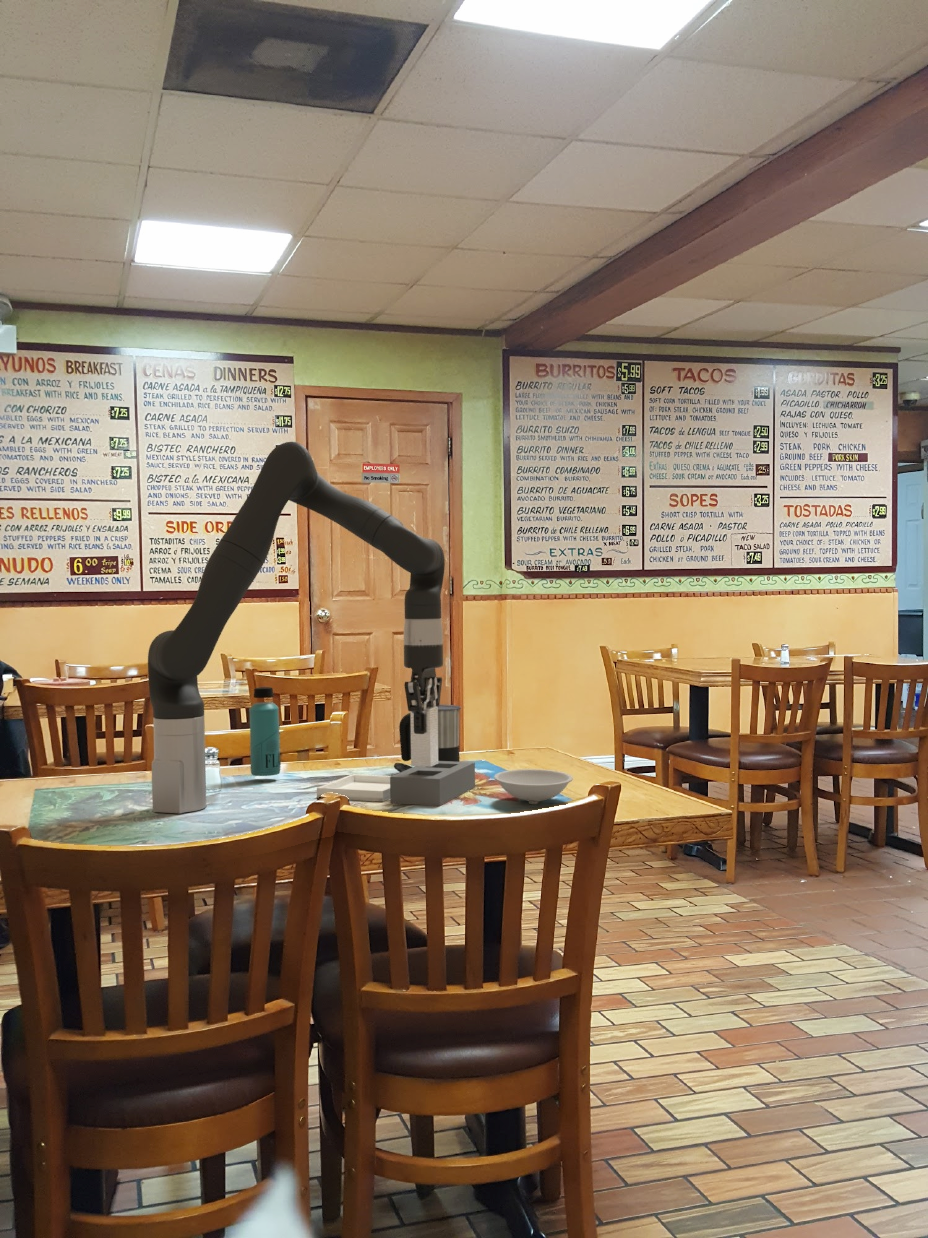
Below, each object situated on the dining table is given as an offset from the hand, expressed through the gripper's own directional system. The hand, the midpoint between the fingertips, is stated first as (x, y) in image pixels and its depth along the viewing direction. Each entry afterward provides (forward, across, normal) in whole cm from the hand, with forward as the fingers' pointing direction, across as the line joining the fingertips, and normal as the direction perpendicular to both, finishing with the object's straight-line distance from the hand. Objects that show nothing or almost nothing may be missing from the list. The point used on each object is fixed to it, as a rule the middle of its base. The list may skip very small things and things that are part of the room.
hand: (424, 731), depth 205 cm
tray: (+13, +4, +14) cm, 19 cm away
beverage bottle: (+13, +11, +41) cm, 44 cm away
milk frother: (+13, +24, +9) cm, 29 cm away
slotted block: (+13, +5, 0) cm, 14 cm away
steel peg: (+6, 0, 0) cm, 6 cm away
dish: (+13, +2, -21) cm, 25 cm away
